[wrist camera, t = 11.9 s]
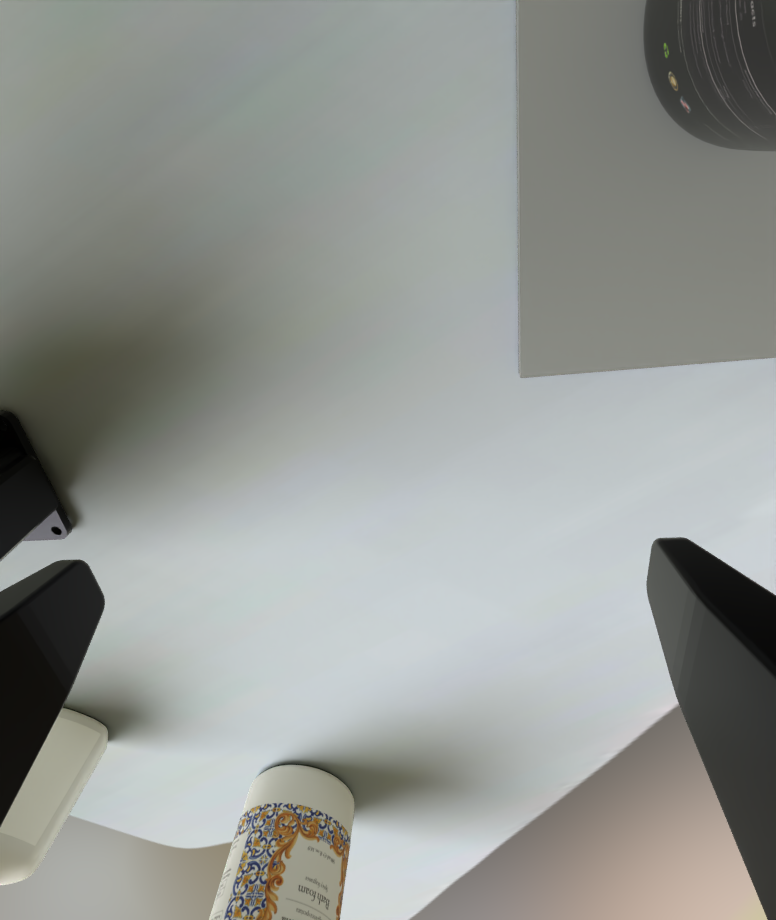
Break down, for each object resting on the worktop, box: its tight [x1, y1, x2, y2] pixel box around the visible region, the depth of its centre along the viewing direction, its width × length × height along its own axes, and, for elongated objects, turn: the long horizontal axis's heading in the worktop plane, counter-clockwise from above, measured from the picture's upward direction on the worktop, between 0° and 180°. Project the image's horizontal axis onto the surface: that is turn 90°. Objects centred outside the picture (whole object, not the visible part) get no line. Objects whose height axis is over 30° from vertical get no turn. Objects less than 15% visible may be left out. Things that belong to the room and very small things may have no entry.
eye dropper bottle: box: [0, 708, 108, 885], centre depth 29 cm, size 4×6×12 cm
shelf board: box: [516, 0, 776, 378], centre depth 15 cm, size 12×14×3 cm
